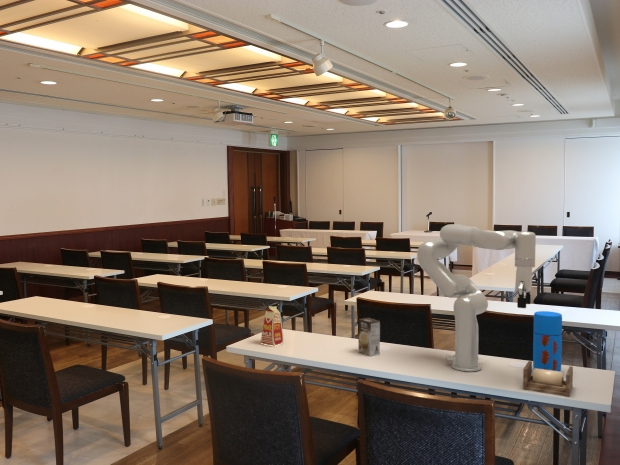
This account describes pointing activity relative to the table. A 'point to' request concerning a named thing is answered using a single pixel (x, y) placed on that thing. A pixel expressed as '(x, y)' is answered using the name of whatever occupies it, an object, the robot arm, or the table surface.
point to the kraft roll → (548, 377)
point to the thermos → (547, 341)
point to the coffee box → (369, 336)
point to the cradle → (550, 389)
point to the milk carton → (272, 327)
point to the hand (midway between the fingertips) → (523, 305)
